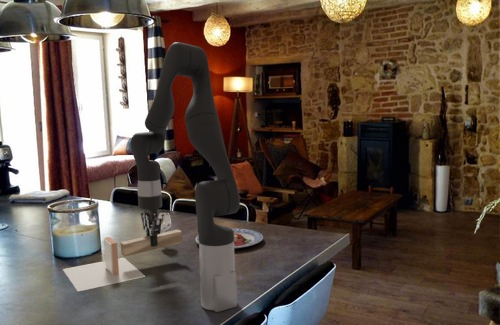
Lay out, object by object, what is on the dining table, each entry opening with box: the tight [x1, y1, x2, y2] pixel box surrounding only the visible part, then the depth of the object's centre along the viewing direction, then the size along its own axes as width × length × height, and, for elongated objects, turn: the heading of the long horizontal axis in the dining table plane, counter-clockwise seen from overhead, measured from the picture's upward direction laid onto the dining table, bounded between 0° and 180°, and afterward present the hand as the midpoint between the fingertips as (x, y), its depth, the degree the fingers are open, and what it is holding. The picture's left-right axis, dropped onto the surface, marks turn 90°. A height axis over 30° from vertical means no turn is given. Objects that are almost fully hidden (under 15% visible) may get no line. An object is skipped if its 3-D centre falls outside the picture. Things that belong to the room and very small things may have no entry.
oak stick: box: [120, 228, 183, 258], centre depth 156 cm, size 3×20×4 cm, turn 122°
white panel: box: [62, 256, 146, 292], centre depth 149 cm, size 22×20×1 cm
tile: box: [103, 236, 119, 275], centre depth 149 cm, size 8×2×10 cm, turn 32°
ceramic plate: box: [195, 227, 264, 250], centre depth 182 cm, size 26×26×3 cm
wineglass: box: [158, 212, 172, 248], centre depth 179 cm, size 6×6×12 cm
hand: (152, 244), depth 156 cm, fingers closed on oak stick, 3 cm apart
